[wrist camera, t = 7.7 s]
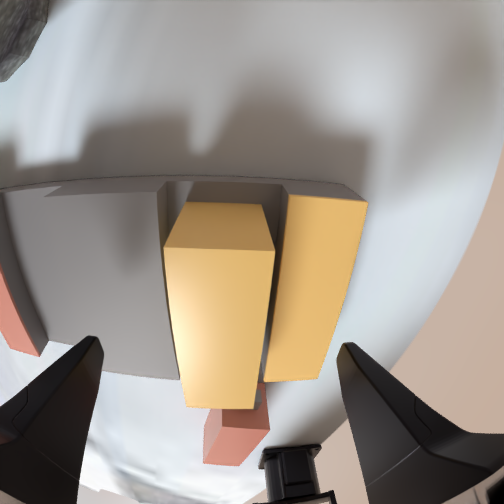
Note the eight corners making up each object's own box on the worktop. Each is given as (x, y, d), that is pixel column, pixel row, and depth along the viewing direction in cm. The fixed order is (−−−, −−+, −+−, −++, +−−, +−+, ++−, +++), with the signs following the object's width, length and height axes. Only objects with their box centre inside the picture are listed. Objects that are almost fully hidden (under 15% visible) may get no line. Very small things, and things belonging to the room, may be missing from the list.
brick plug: (237, 428, 22) (238, 466, 18) (204, 424, 21) (203, 463, 18) (268, 373, 18) (275, 422, 14) (225, 367, 17) (225, 419, 14)
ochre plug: (185, 201, 11) (163, 247, 7) (261, 204, 11) (275, 251, 8) (194, 357, 15) (188, 417, 11) (247, 359, 15) (251, 418, 12)
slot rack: (307, 346, 17) (317, 378, 14) (25, 324, 15) (10, 348, 12) (343, 184, 12) (368, 202, 10) (-17, 191, 10) (-44, 207, 8)
